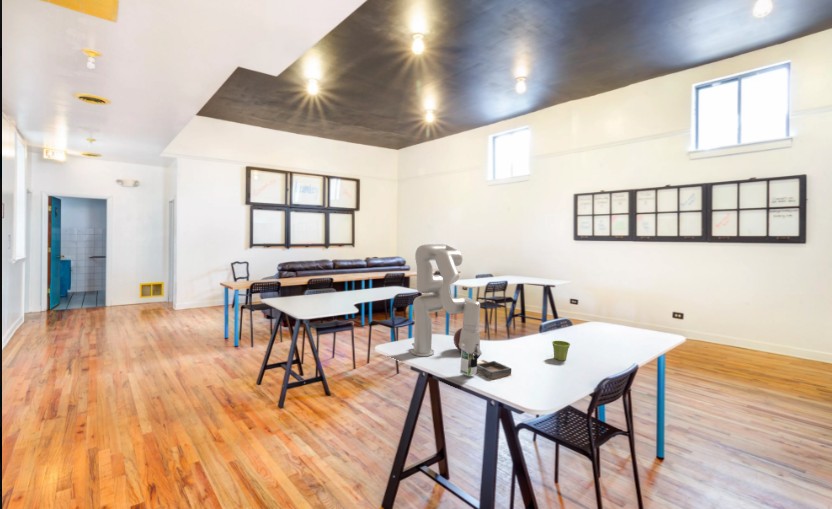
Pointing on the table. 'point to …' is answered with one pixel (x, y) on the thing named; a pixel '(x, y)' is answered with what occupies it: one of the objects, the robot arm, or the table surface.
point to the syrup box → (467, 363)
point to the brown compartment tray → (492, 369)
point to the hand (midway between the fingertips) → (468, 364)
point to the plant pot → (560, 349)
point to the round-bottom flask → (457, 338)
